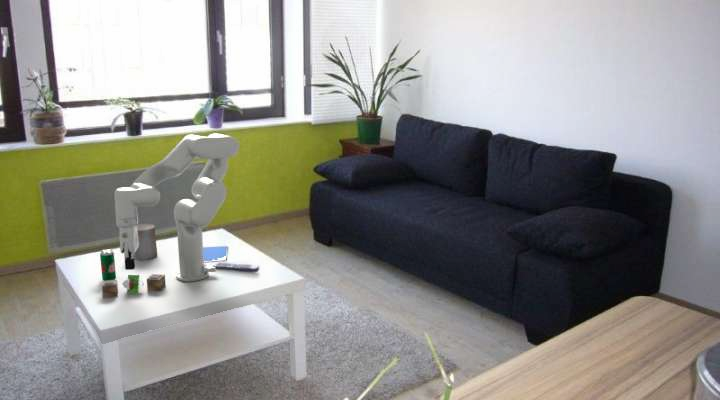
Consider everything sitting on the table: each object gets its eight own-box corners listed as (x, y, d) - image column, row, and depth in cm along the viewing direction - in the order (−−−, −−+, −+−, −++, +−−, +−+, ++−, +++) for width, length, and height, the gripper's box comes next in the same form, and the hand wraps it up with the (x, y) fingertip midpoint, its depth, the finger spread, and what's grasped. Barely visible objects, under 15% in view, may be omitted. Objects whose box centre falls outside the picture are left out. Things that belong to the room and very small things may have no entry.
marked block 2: (165, 287, 246) (164, 274, 245) (160, 292, 242) (159, 278, 240) (153, 286, 247) (152, 273, 246) (147, 291, 242) (146, 278, 241)
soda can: (111, 282, 250) (108, 253, 247) (99, 281, 251) (97, 252, 248) (118, 278, 255) (116, 249, 252) (107, 277, 256) (104, 248, 253)
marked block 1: (117, 292, 241) (116, 278, 240) (117, 297, 237) (116, 283, 236) (103, 293, 240) (102, 280, 239) (102, 298, 235) (101, 285, 234)
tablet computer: (227, 262, 275) (226, 259, 275) (196, 264, 273) (196, 261, 273) (228, 248, 294) (228, 245, 293) (200, 249, 292) (199, 247, 291)
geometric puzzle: (129, 281, 246) (123, 269, 240) (147, 281, 246) (141, 270, 240) (124, 297, 242) (118, 286, 235) (142, 297, 241) (136, 286, 235)
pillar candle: (148, 251, 287) (145, 219, 283) (162, 255, 281) (159, 223, 278) (129, 257, 279) (125, 224, 276) (143, 262, 274) (139, 228, 270)
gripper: (133, 226, 228) (136, 275, 232) (141, 216, 242) (144, 262, 246) (111, 226, 227) (115, 276, 231) (121, 216, 241) (124, 262, 245)
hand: (130, 268), depth 239 cm, fingers closed
